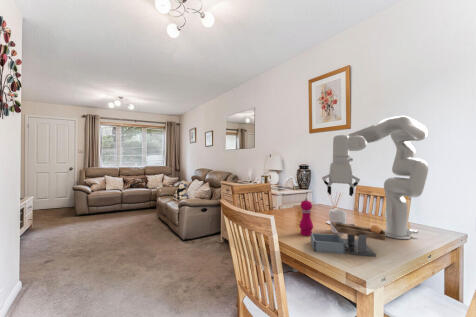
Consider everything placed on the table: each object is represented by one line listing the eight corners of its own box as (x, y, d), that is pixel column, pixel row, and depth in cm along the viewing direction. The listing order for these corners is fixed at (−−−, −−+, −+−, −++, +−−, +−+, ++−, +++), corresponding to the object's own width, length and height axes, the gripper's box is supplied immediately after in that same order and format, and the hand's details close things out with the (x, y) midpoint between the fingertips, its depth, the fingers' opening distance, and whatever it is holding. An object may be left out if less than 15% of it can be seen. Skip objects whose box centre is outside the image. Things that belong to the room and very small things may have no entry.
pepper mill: (297, 232, 128) (297, 196, 128) (309, 232, 128) (310, 196, 129) (302, 236, 121) (302, 199, 121) (315, 236, 121) (315, 198, 121)
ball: (377, 234, 103) (379, 225, 103) (381, 237, 99) (383, 228, 99) (368, 231, 103) (370, 223, 103) (371, 234, 100) (373, 225, 99)
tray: (372, 230, 111) (373, 223, 111) (385, 241, 97) (386, 232, 97) (331, 223, 115) (332, 216, 115) (338, 232, 100) (339, 224, 100)
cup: (343, 229, 133) (343, 209, 133) (348, 234, 124) (349, 212, 124) (327, 229, 134) (327, 209, 134) (331, 234, 125) (331, 212, 125)
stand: (361, 241, 114) (361, 224, 114) (375, 256, 96) (375, 236, 96) (339, 240, 116) (339, 223, 116) (350, 254, 98) (350, 234, 98)
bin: (338, 244, 110) (338, 234, 110) (345, 254, 98) (345, 243, 98) (310, 242, 113) (310, 232, 113) (314, 251, 101) (314, 241, 101)
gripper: (357, 161, 114) (357, 195, 114) (321, 160, 118) (320, 193, 118) (362, 160, 107) (361, 197, 106) (323, 159, 111) (322, 195, 110)
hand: (340, 195), depth 112 cm, fingers open, 9 cm apart
